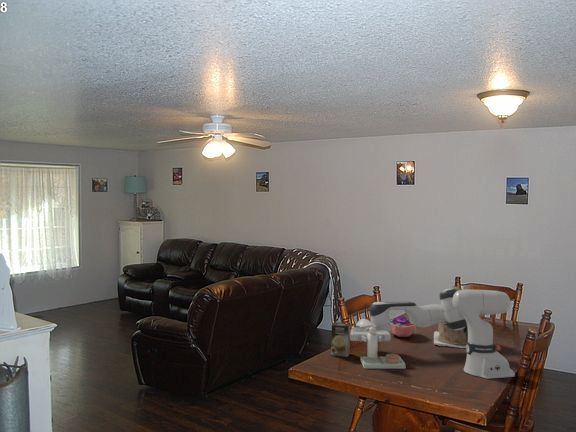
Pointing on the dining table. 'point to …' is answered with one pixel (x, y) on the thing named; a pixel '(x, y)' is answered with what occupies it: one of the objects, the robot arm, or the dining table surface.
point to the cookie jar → (451, 335)
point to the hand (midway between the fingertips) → (372, 340)
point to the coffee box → (340, 339)
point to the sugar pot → (392, 358)
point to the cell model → (402, 327)
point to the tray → (380, 363)
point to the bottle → (372, 343)
